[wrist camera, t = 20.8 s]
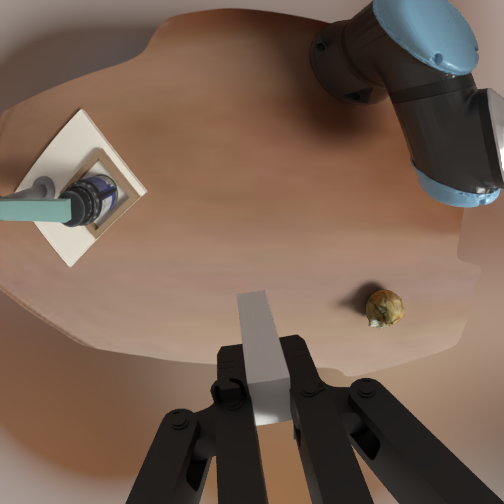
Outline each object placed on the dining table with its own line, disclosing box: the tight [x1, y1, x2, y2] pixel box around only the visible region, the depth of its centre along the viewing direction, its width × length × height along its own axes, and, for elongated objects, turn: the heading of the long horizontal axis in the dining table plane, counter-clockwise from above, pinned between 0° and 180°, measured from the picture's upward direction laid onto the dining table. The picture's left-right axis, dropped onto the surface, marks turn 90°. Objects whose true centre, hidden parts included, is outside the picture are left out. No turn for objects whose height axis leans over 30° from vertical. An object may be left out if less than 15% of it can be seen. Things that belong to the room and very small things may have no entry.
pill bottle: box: [57, 174, 118, 227], centre depth 35 cm, size 6×6×11 cm
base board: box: [3, 109, 147, 267], centre depth 34 cm, size 20×18×14 cm
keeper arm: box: [0, 196, 71, 223], centre depth 26 cm, size 15×4×2 cm, turn 84°
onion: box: [366, 290, 404, 328], centre depth 50 cm, size 8×8×8 cm
